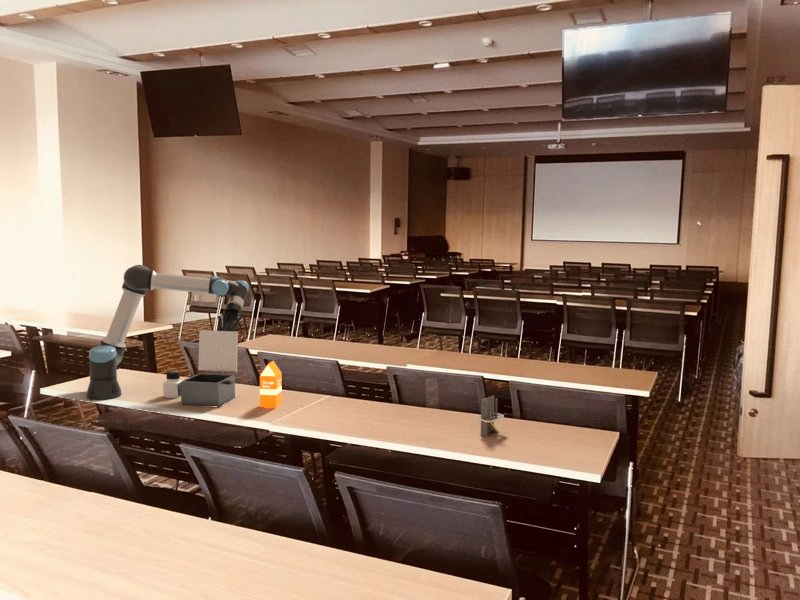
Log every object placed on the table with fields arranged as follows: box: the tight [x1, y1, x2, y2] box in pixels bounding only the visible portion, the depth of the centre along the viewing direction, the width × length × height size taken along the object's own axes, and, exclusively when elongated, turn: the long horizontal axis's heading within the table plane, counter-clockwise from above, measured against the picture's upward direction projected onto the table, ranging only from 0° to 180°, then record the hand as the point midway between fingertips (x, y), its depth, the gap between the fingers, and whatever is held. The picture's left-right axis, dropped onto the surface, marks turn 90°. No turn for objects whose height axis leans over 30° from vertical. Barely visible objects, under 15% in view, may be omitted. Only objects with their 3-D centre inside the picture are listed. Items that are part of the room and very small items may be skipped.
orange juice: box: [259, 360, 283, 409], centre depth 290 cm, size 8×9×20 cm
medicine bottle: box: [162, 370, 184, 399], centre depth 305 cm, size 7×7×12 cm
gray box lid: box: [198, 329, 239, 375], centre depth 305 cm, size 20×19×3 cm
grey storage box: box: [180, 373, 236, 408], centre depth 295 cm, size 18×23×11 cm
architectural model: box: [477, 395, 505, 438], centre depth 251 cm, size 20×25×15 cm
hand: (220, 344), depth 307 cm, fingers closed
